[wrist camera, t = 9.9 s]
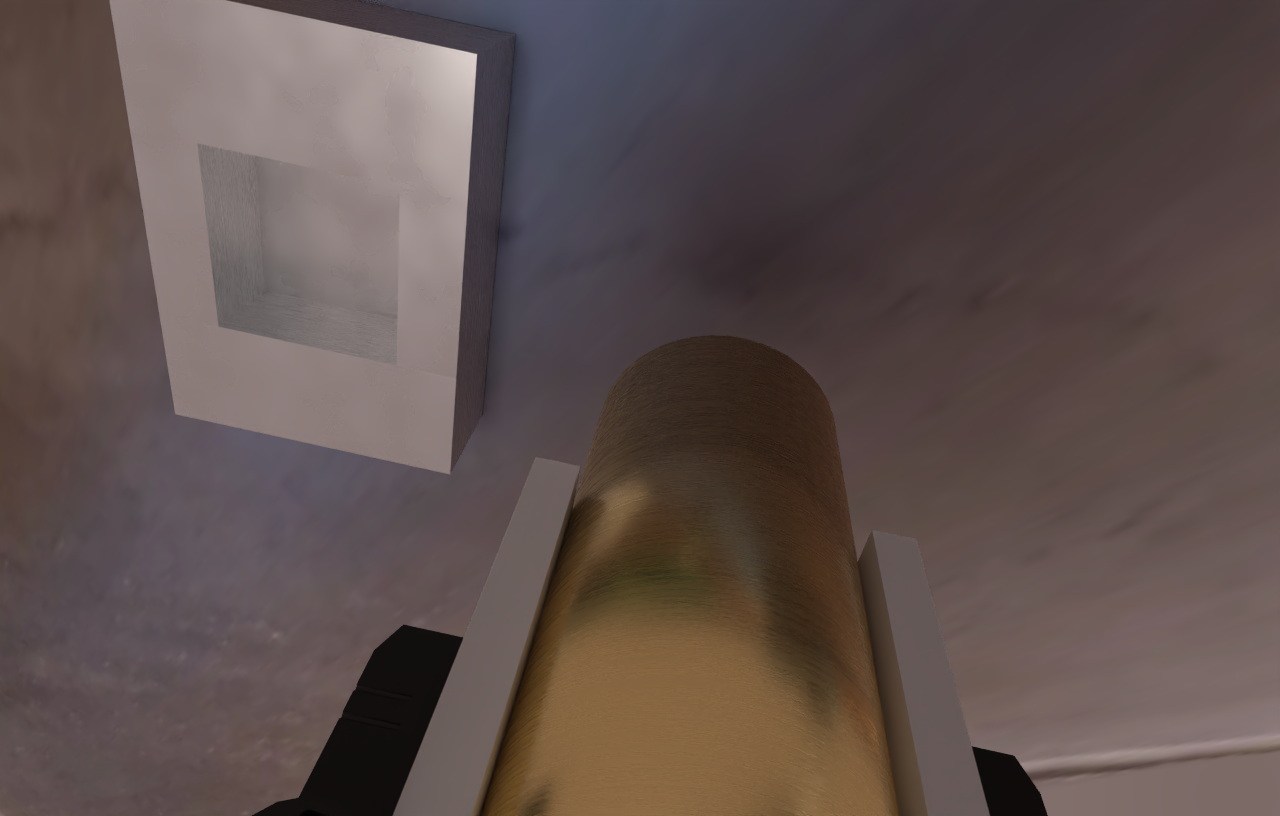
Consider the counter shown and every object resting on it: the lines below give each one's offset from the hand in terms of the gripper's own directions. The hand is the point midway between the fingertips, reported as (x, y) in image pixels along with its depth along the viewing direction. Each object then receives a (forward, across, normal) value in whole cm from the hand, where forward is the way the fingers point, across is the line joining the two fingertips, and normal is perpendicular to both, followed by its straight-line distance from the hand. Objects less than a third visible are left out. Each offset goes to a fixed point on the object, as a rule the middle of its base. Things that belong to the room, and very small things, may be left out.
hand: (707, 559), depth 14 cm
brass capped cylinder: (+4, 0, 0) cm, 4 cm away
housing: (+16, -13, -2) cm, 20 cm away
